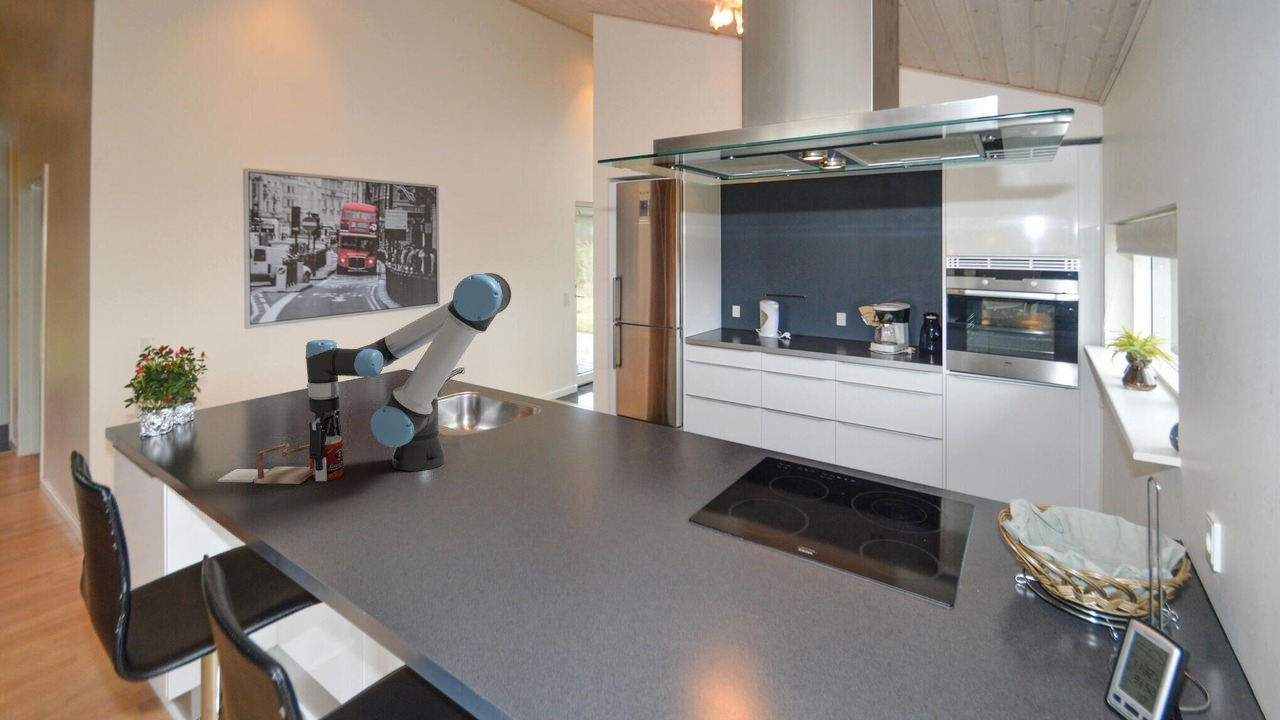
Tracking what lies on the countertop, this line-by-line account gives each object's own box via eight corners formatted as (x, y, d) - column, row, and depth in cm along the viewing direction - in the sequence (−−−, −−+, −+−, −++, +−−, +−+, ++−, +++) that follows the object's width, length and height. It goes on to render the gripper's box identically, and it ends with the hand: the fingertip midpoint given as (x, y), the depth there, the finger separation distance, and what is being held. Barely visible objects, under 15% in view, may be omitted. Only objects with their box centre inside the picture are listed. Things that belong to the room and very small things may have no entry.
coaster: (269, 471, 177) (268, 469, 177) (252, 482, 169) (251, 480, 169) (236, 471, 177) (236, 469, 177) (217, 481, 168) (217, 479, 168)
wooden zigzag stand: (317, 470, 179) (316, 442, 178) (299, 483, 169) (297, 454, 167) (275, 469, 178) (273, 441, 177) (254, 483, 168) (252, 453, 167)
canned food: (331, 482, 170) (329, 443, 169) (306, 479, 172) (303, 441, 170) (350, 472, 178) (348, 435, 176) (325, 470, 179) (323, 433, 178)
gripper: (326, 387, 181) (330, 462, 185) (290, 405, 161) (296, 488, 165) (353, 388, 181) (356, 463, 185) (320, 405, 161) (325, 489, 165)
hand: (328, 475), depth 175 cm, fingers closed on canned food, 8 cm apart
